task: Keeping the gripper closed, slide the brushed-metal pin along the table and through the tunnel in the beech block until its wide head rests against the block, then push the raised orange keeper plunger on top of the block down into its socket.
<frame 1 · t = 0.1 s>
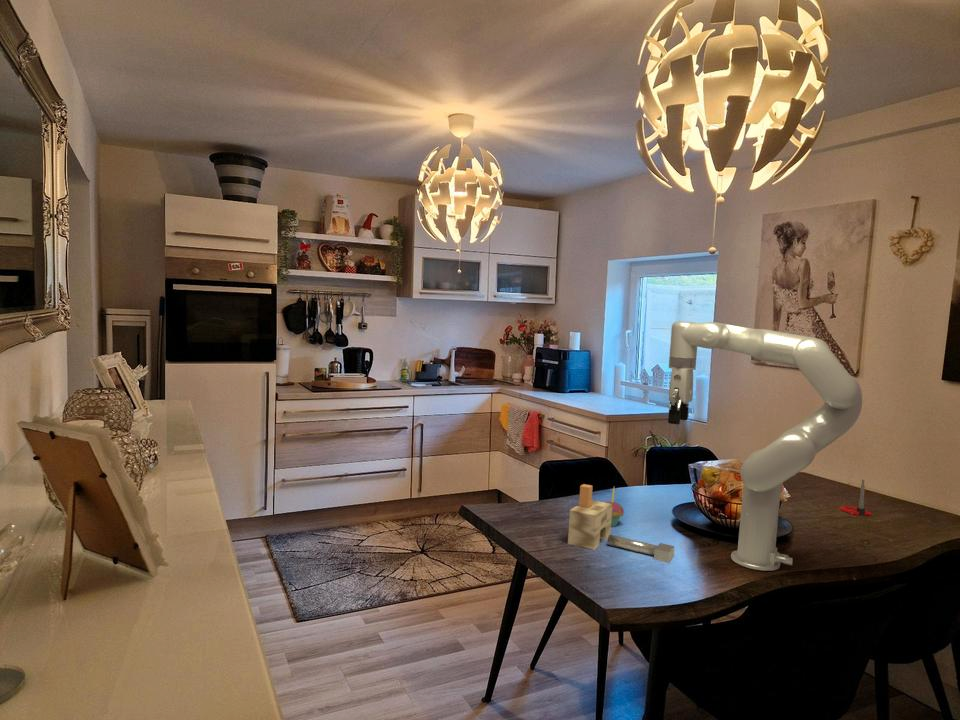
hand: (677, 421, 185), 37 cm above the table, tool pointing down, fingers open, 9 cm apart
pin: (635, 551, 180), on the table
cupcake: (609, 524, 202), on the table
keeper plunger: (585, 497, 187), point 12 cm above the table, slide at 2.5 cm
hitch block: (589, 539, 187), on the table
grey spike red base: (853, 512, 230), on the table
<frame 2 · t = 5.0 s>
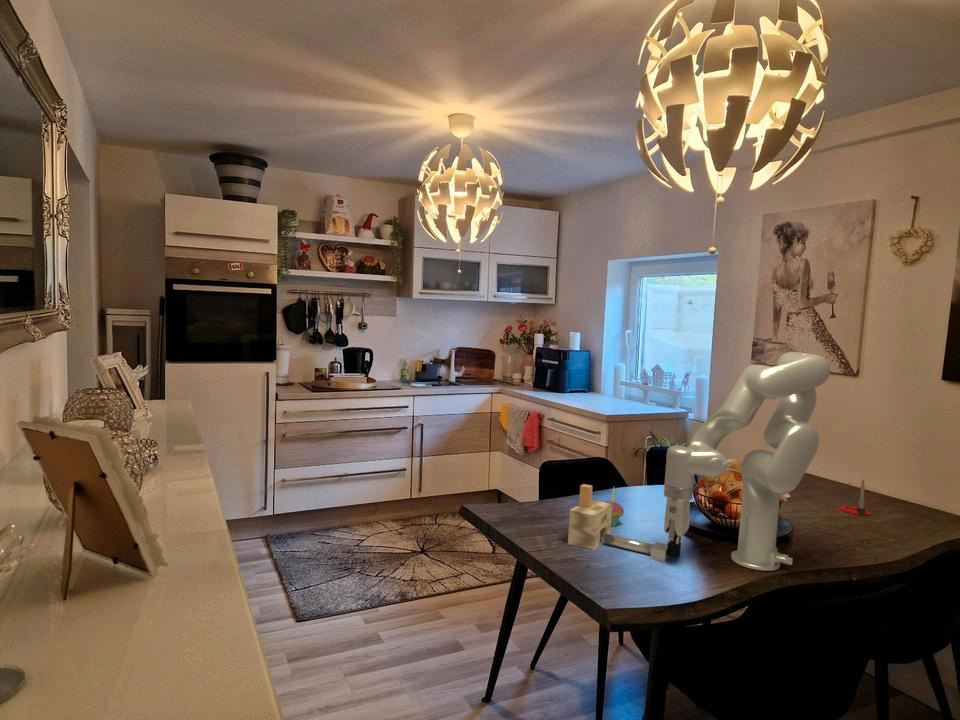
hand: (673, 556, 174), 1 cm above the table, tool pointing down, fingers closed
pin: (632, 550, 180), on the table, touching gripper
everything else where it was.
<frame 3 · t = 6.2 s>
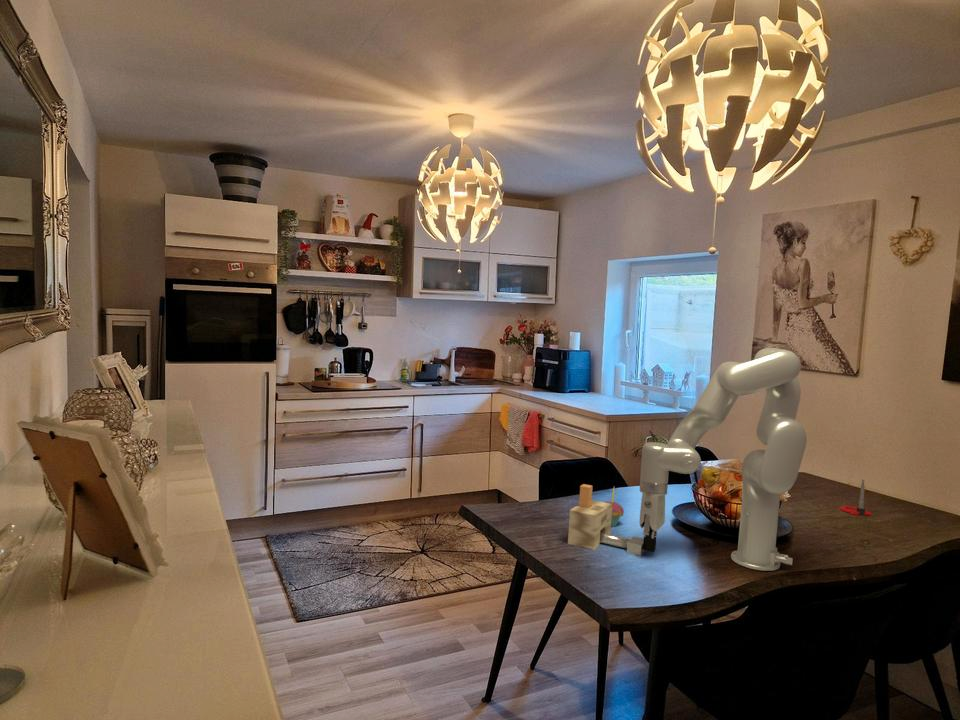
hand: (649, 550, 178), 1 cm above the table, tool pointing down, fingers closed
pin: (609, 544, 184), on the table, touching gripper
everything else where it was.
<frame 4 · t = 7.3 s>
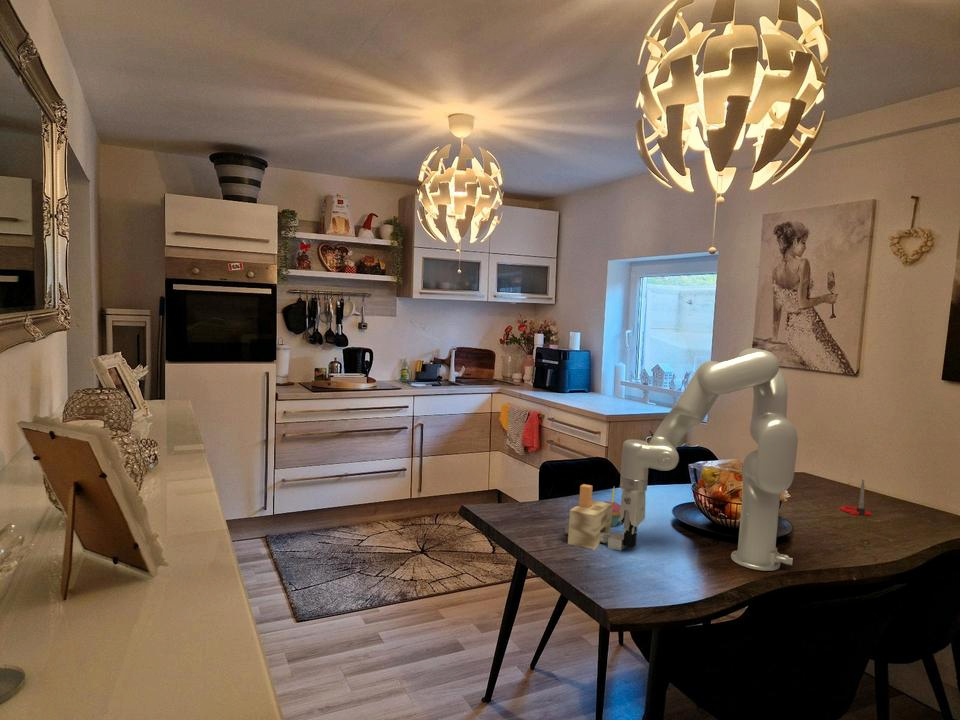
hand: (629, 545, 181), 1 cm above the table, tool pointing down, fingers closed
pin: (591, 540, 187), on the table, touching gripper
everything else where it was.
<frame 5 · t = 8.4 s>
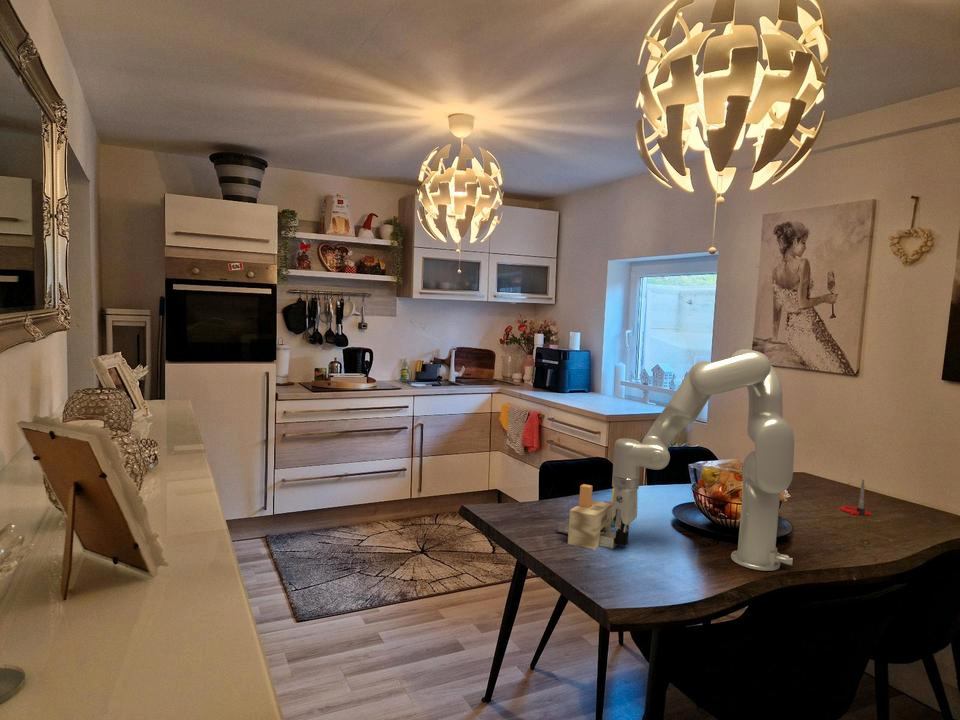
hand: (621, 544, 182), 1 cm above the table, tool pointing down, fingers closed
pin: (584, 538, 188), on the table, touching gripper
everything else where it was.
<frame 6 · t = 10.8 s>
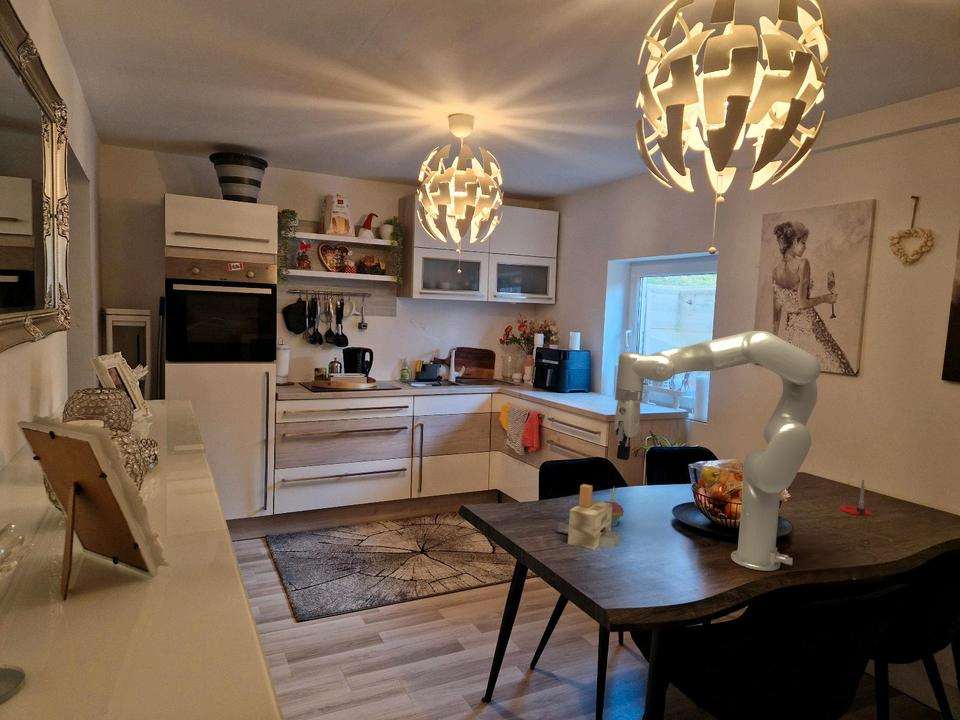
hand: (622, 458, 180), 26 cm above the table, tool pointing down, fingers closed
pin: (583, 538, 188), on the table
everything else where it was.
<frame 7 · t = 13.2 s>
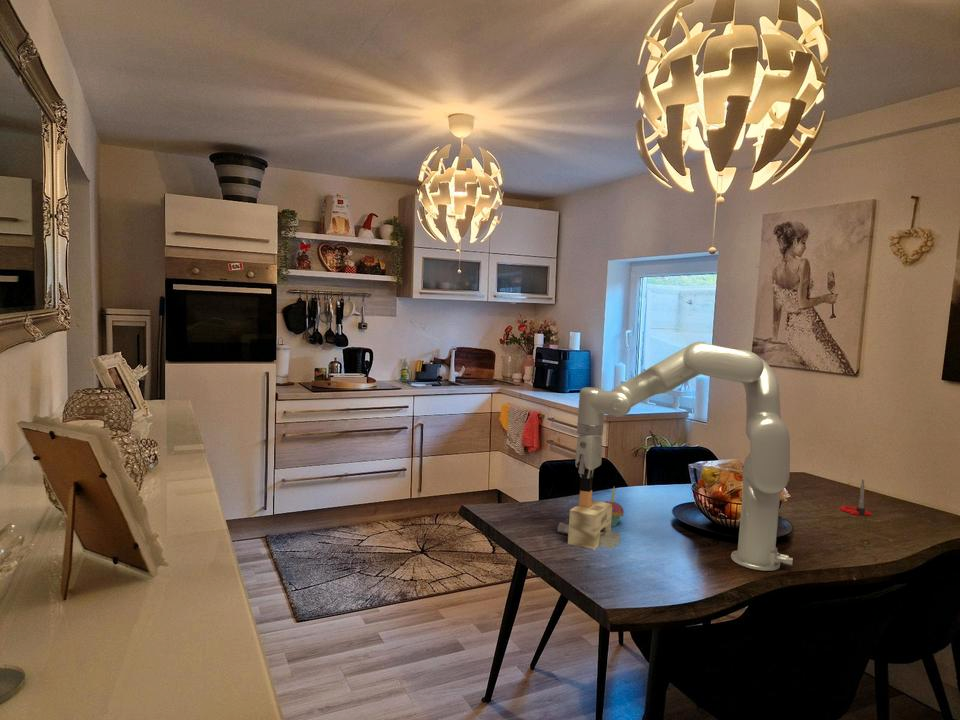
hand: (585, 490, 187), 15 cm above the table, tool pointing down, fingers closed
keeper plunger: (585, 502, 187), point 11 cm above the table, slide at 1.1 cm, touching gripper
everything else where it was.
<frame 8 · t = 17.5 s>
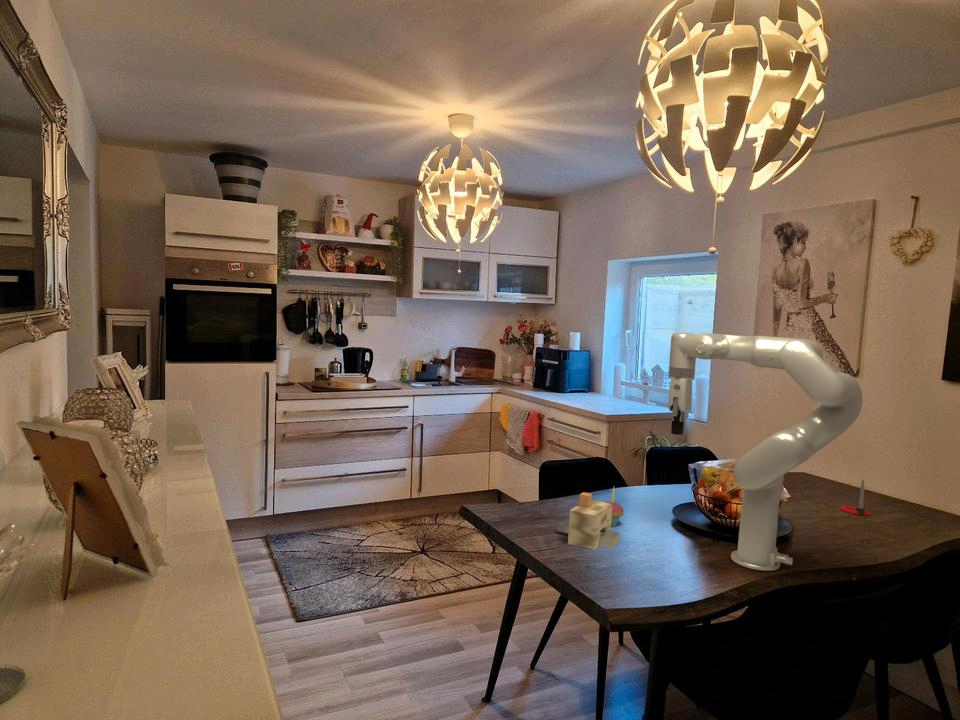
hand: (677, 433, 190), 32 cm above the table, tool pointing down, fingers closed
keeper plunger: (585, 505, 187), point 10 cm above the table, slide at 0.0 cm, touching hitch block
everything else where it was.
at the end: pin 0.6 cm from the target spot on the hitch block, point 0.0 cm above the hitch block's base; keeper plunger slide at 0.0 cm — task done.
